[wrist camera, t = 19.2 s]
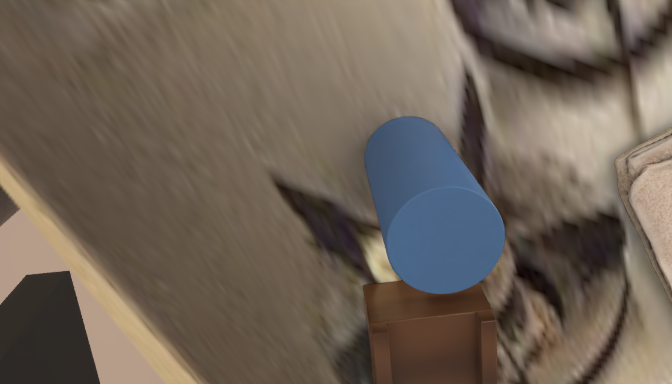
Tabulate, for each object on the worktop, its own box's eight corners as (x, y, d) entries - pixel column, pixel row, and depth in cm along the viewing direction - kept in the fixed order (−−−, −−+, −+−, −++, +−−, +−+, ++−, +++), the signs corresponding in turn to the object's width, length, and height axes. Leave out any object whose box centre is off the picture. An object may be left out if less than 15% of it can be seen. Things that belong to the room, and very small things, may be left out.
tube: (505, 288, 30) (504, 180, 28) (390, 300, 30) (381, 193, 28) (450, 192, 42) (447, 111, 40) (368, 201, 42) (360, 121, 40)
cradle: (362, 284, 45) (370, 334, 39) (474, 272, 45) (498, 319, 39) (372, 376, 48) (380, 435, 42) (477, 365, 48) (499, 422, 42)
